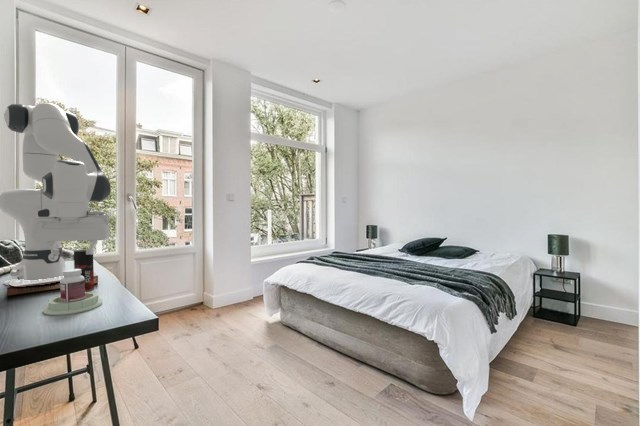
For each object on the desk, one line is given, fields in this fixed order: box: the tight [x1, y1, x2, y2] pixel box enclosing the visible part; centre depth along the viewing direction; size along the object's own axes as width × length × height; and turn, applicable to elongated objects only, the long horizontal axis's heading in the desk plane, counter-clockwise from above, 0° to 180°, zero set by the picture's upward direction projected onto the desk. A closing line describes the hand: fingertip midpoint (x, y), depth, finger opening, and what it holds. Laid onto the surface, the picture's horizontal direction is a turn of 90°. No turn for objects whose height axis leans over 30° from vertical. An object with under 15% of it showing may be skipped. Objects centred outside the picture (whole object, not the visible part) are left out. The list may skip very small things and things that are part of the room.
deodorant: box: [73, 249, 95, 292], centre depth 122 cm, size 6×6×15 cm
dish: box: [42, 291, 103, 316], centre depth 101 cm, size 15×15×3 cm
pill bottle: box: [59, 268, 86, 303], centre depth 101 cm, size 6×6×11 cm
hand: (72, 254), depth 101 cm, fingers open, 8 cm apart
